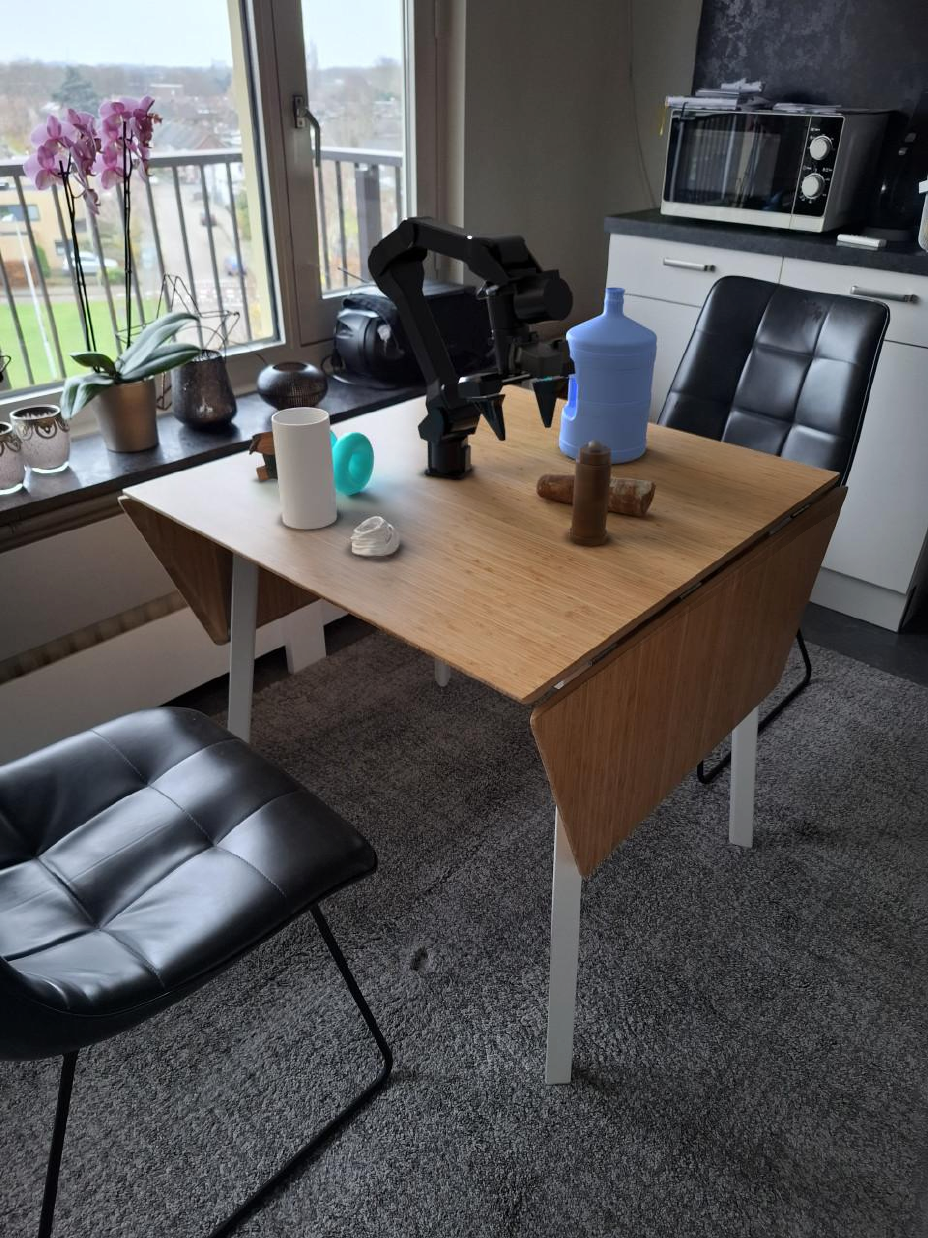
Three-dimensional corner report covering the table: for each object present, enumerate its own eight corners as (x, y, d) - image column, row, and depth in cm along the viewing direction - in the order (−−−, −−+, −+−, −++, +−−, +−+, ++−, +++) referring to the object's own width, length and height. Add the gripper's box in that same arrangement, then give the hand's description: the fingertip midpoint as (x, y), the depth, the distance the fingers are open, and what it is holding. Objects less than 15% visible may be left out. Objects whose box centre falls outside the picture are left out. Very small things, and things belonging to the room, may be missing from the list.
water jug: (658, 445, 163) (677, 286, 148) (623, 472, 151) (640, 302, 137) (581, 431, 170) (592, 277, 155) (543, 455, 158) (551, 291, 144)
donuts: (343, 505, 139) (339, 444, 134) (293, 492, 143) (287, 433, 138) (379, 484, 146) (376, 425, 141) (330, 473, 151) (325, 416, 145)
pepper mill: (572, 546, 126) (579, 447, 119) (566, 530, 131) (573, 433, 123) (609, 545, 127) (619, 446, 119) (602, 529, 131) (611, 433, 124)
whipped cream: (389, 569, 122) (390, 539, 119) (342, 561, 123) (342, 531, 120) (403, 541, 128) (404, 511, 126) (358, 533, 129) (359, 504, 126)
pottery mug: (240, 483, 148) (235, 434, 148) (271, 489, 156) (266, 442, 156) (303, 472, 144) (298, 422, 143) (331, 478, 152) (326, 431, 152)
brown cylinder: (646, 524, 133) (650, 489, 130) (530, 501, 141) (531, 468, 138) (658, 509, 138) (662, 475, 135) (545, 487, 145) (547, 455, 142)
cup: (346, 511, 137) (338, 410, 129) (321, 532, 130) (312, 427, 122) (298, 504, 139) (288, 404, 131) (272, 525, 132) (260, 421, 124)
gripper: (496, 333, 118) (513, 449, 123) (595, 313, 127) (606, 421, 133) (447, 339, 126) (465, 447, 132) (544, 319, 136) (556, 421, 141)
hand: (525, 434), depth 134 cm, fingers open, 9 cm apart
